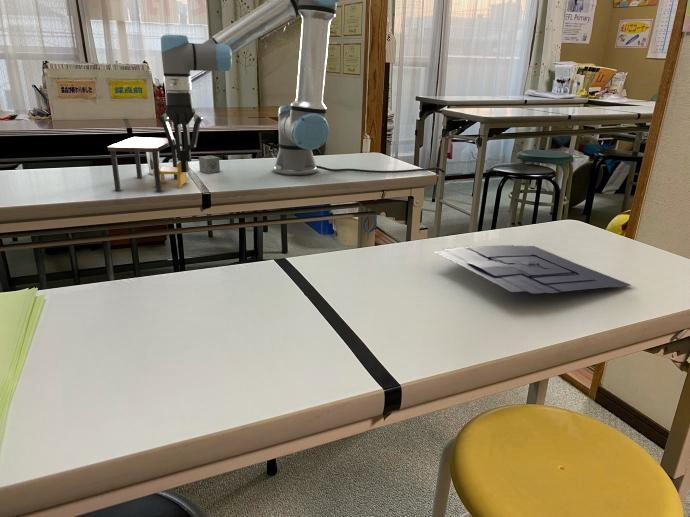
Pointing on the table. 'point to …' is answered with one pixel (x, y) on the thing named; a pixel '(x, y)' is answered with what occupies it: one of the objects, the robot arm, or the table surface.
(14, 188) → the table surface
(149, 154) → the milkshake
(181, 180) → the chair
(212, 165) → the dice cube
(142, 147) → the little table
